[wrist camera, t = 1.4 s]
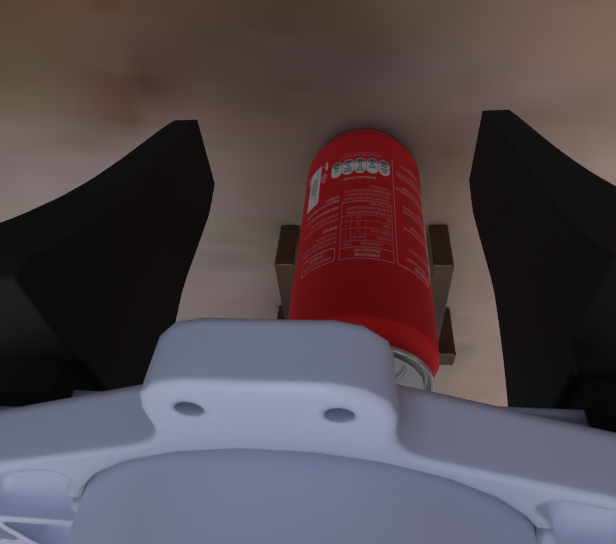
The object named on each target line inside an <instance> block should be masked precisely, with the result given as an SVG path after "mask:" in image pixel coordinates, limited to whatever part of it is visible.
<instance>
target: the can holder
mask: <svg viewBox="0 0 616 544" xmlns="http://www.w3.org/2000/svg"><path fill="white" fill-rule="evenodd" d="M299 238H300V229H299V226H282V227H281V232H280V238H279V243H278V248H277V254H276V259H275V269H276V275H277V280H278V286H279V291H280V296H281V302H282V306H279V311H278V317H277V319H287V320H288V315H289V308H290V301H291V294H292V287H293V280H294V273H295V266H296V259H297V252H298V245H299ZM426 243H427V251H428V260H429V269H430V278H431V286H432V295H433V304H434V313H435V321H436V330H437V339H438V348H439V357H440V363H439V365H453V363H454V359H455V355H456V352H455V345H454V338H453V331H452V324H451V317H450V310H449V309H445V308H446V303H447V298H448V293H449V288H450V283H451V278H452V273H453V268H454V262H453V256H452V250H451V244H450V238H449V232H448V226H429V227H428V234H427V242H426Z"/></svg>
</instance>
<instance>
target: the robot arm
mask: <svg viewBox="0 0 616 544" xmlns="http://www.w3.org/2000/svg"><path fill="white" fill-rule="evenodd" d="M469 182H470V191H471V200H472V208H473V214H474V218H475V222H476V225H477V229H478V233H479V237H480V240H481V244H482V247H483V251H484V254H485V258H486V262H487V265H488V269H489V272H490V276H491V280H492V284H493V289H494V293H495V300H496V306H497V313H498V320H499V327H500V335H501V343H502V351H503V359H504V369H505V379H506V388H507V398H508V407H498V406H493V405H489V404H484V403H480V402H475V401H471V400H467V399H462V398H458V397H453V396H449V395H444V394H440V393H435V392H431V391H426V390H422V389H417V388H413V387H408V386H404V385H399V384H396V369H395V357H394V354H393V352H392V349H391V347H390V344H389V342H388V341H387V340H386V339H384V338H382V337H381V336H379V335H378V334H376V333H374V332H373V331H371V330H369V329H368V328H366V327H365V326H363V325H358V324H352V323H346V322H341V321H335V320H287V319H233V318H201V319H195V320H188V321H182V322H178V323H175V321H176V316H177V312H178V308H179V303H180V299H181V294H182V290H183V287H184V284H185V280H186V277H187V274H188V271H189V269H190V266H191V263H192V260H193V258H194V255H195V252H196V250H197V247H198V244H199V241H200V239H201V236H202V233H203V230H204V227H205V224H206V222H207V219H208V216H209V212H210V207H211V202H212V196H213V191H214V185H215V183H214V180H213V176H212V172H211V169H210V165H209V161H208V158H207V154H206V151H205V147H204V143H203V140H202V136H201V132H200V129H199V125H198V121H197V120H177V121H173V122H171V123H170V124H168V125H167V126H165V127H164V128H162V129H161V130H159V131H158V132H157V133H155V134H154V135H153V136H151V137H150V138H149V139H147V140H146V141H145V142H143V143H142V144H141V145H139V146H138V147H137V148H136V149H134V150H133V151H132V152H130V153H129V154H128V155H126V156H125V157H123V158H122V159H121V160H119V161H118V162H116V163H115V164H113V165H112V166H110V167H109V168H107V169H106V170H105V171H103V172H102V173H100V174H99V175H97V176H96V177H94V178H93V179H91V180H89V181H88V182H86V183H84V184H83V185H81V186H79V187H77V188H76V189H74V190H72V191H70V192H68V193H67V194H65V195H63V196H61V197H59V198H57V199H55V200H53V201H51V202H48V203H46V204H44V205H42V206H40V207H37V208H35V209H33V210H31V211H29V212H27V213H24V214H22V215H20V216H17V217H14V218H12V219H9V220H7V221H4V222H1V223H0V540H3V541H10V542H15V543H22V544H616V186H615V185H613V184H611V183H609V182H607V181H605V180H604V179H602V178H600V177H598V176H597V175H595V174H593V173H592V172H590V171H589V170H587V169H586V168H584V167H583V166H581V165H580V164H578V163H577V162H575V161H574V160H572V159H571V158H570V157H568V156H567V155H565V154H564V153H563V152H561V151H560V150H559V149H557V148H556V147H555V146H553V145H552V144H551V143H550V142H548V141H547V140H546V139H545V138H543V137H542V136H541V135H540V134H539V133H537V132H536V131H535V130H534V129H533V128H531V127H530V126H529V125H528V124H527V123H525V122H524V121H523V120H522V119H520V118H519V117H518V116H517V115H515V114H514V113H513V112H511V111H510V110H490V111H483V112H482V117H481V122H480V127H479V133H478V138H477V143H476V148H475V153H474V158H473V164H472V169H471V174H470V179H469Z"/></svg>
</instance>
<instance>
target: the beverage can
mask: <svg viewBox="0 0 616 544" xmlns="http://www.w3.org/2000/svg"><path fill="white" fill-rule="evenodd" d="M288 320H335V321H341V322H346V323H352V324H358V325H363V326H365V327H366V328H368V329H369V330H371V331H373V332H374V333H376V334H378V335H379V336H381V337H382V338H384V339H386V340H387V341H388V342H389V344H390V347H391V349H392V352H393V354H394V357H395V369H396V384H399V385H404V386H408V387H413V388H417V389H422V390H426V391H431V392H433V390H434V377H435V375H436V373H437V371H438V368H439V363H440V357H439V348H438V339H437V330H436V321H435V313H434V304H433V295H432V286H431V278H430V269H429V260H428V251H427V243H426V234H425V225H424V216H423V208H422V199H421V190H420V182H419V173H418V168H417V165H416V163H415V161H414V159H413V157H412V156H411V154H410V153H409V152H408V151H407V150H406V149H405V148H404V147H403V146H402V145H401V144H400V143H399V142H398V141H397V140H396V139H395V138H394V137H392V136H391V135H389V134H387V133H385V132H382V131H379V130H375V129H366V128H363V129H354V130H350V131H347V132H344V133H342V134H340V135H338V136H337V137H335V138H334V139H332V140H331V141H330V142H329V143H328V144H327V145H326V147H325V148H324V149H322V150H321V151H320V153H319V154H318V155H317V156H316V158H315V159H314V161H313V163H312V165H311V167H310V171H309V176H308V183H307V190H306V197H305V204H304V211H303V218H302V225H301V231H300V238H299V245H298V252H297V259H296V266H295V273H294V280H293V287H292V294H291V301H290V308H289V315H288Z"/></svg>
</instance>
